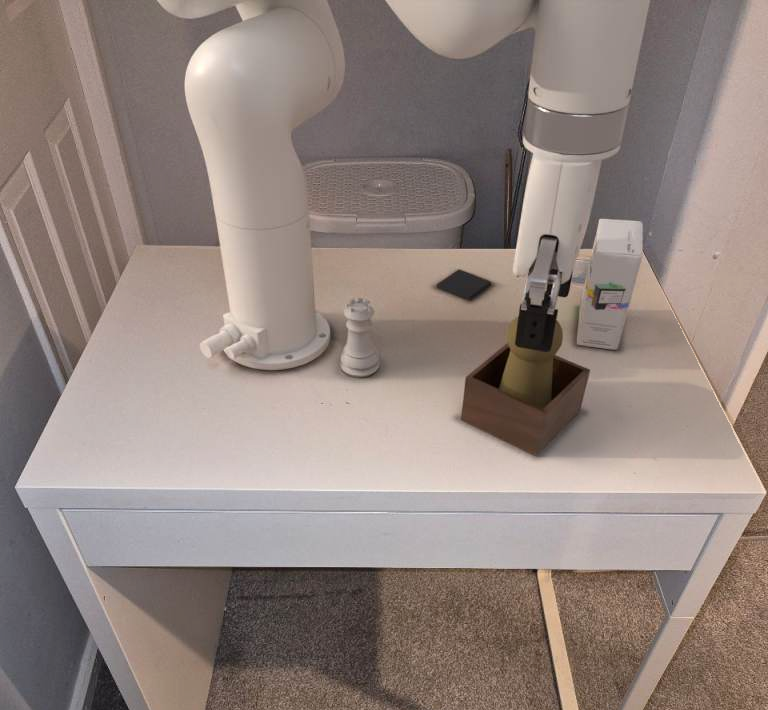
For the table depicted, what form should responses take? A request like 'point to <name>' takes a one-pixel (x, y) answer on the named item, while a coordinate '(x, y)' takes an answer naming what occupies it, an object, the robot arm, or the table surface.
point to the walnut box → (522, 403)
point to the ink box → (610, 282)
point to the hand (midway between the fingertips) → (542, 319)
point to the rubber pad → (463, 284)
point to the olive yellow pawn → (530, 369)
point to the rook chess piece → (359, 340)
